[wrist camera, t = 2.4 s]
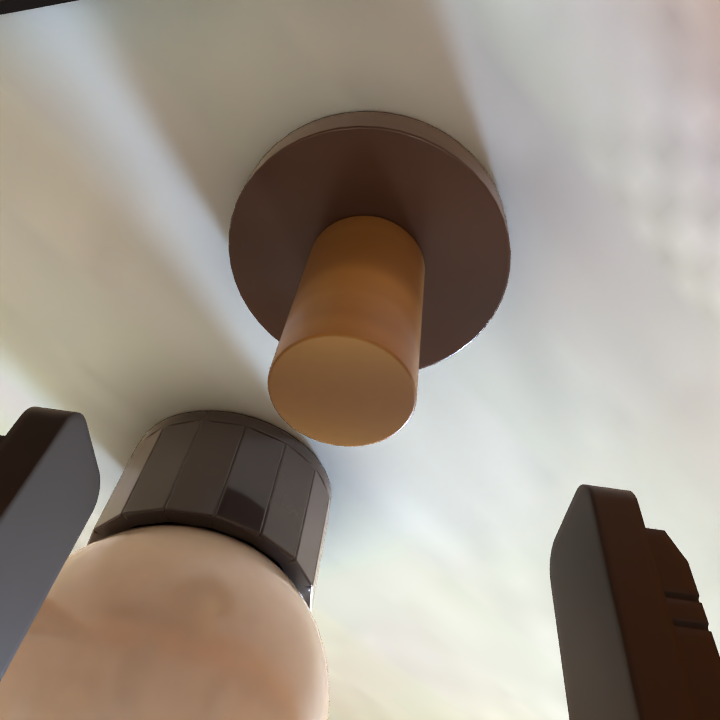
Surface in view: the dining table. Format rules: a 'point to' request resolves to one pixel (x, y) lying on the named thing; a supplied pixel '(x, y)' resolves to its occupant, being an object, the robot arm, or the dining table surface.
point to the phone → (26, 4)
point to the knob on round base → (366, 267)
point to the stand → (228, 488)
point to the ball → (169, 635)
